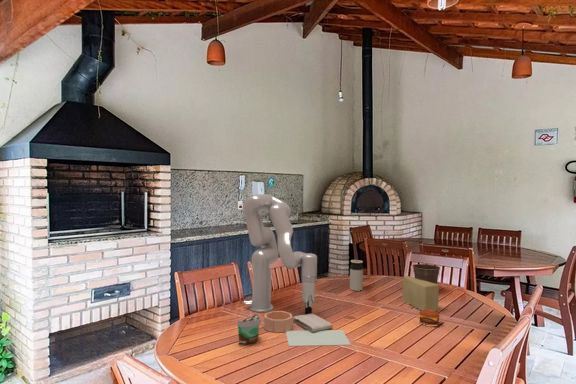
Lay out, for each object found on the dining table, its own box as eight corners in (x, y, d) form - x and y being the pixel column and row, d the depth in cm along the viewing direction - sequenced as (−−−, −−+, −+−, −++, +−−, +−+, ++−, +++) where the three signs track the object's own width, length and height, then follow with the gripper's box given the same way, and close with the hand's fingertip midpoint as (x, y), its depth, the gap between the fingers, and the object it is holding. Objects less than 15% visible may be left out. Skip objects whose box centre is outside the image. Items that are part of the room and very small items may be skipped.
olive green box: (396, 302, 227) (397, 275, 226) (409, 300, 231) (410, 274, 230) (424, 314, 207) (425, 285, 206) (439, 312, 211) (439, 283, 210)
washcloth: (311, 317, 198) (311, 311, 198) (333, 329, 183) (333, 322, 183) (291, 321, 192) (291, 314, 192) (312, 333, 177) (312, 326, 177)
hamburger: (437, 328, 186) (437, 314, 186) (416, 324, 192) (416, 311, 191) (441, 322, 194) (441, 309, 194) (421, 319, 199) (421, 305, 199)
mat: (288, 346, 164) (288, 345, 164) (285, 331, 180) (285, 330, 180) (351, 345, 166) (351, 344, 166) (342, 330, 182) (342, 330, 182)
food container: (248, 349, 160) (249, 324, 160) (236, 345, 164) (237, 321, 163) (266, 338, 171) (266, 315, 171) (254, 335, 174) (255, 312, 174)
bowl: (264, 333, 177) (264, 320, 177) (263, 322, 190) (263, 311, 190) (293, 332, 178) (293, 320, 178) (290, 322, 191) (291, 310, 191)
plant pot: (409, 288, 257) (410, 263, 256) (436, 289, 255) (436, 264, 254) (414, 295, 241) (415, 268, 240) (442, 296, 238) (443, 269, 238)
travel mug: (362, 291, 246) (363, 262, 246) (349, 290, 248) (350, 261, 247) (362, 288, 254) (363, 260, 253) (349, 287, 255) (350, 259, 255)
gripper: (299, 275, 206) (299, 310, 207) (303, 282, 191) (302, 320, 192) (314, 275, 207) (313, 310, 207) (319, 282, 192) (318, 320, 192)
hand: (308, 315), depth 199 cm, fingers closed
